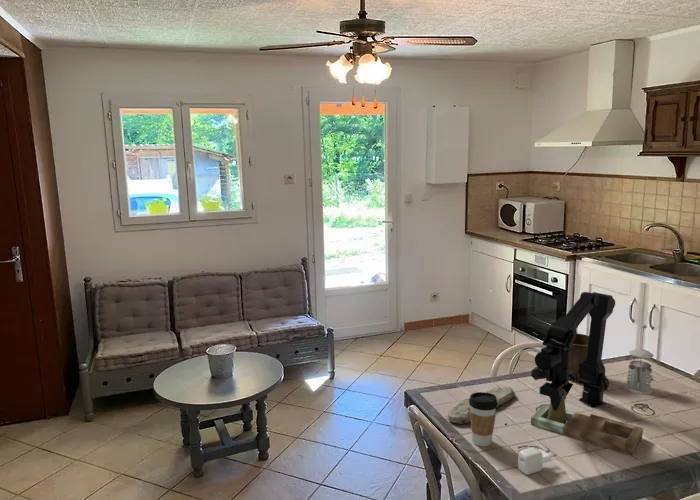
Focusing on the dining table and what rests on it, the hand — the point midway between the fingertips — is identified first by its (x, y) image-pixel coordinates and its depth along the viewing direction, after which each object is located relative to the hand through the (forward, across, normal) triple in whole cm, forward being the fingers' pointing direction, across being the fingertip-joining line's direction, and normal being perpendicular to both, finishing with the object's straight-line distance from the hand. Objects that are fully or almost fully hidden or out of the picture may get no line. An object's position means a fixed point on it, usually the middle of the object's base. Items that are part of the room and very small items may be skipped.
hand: (557, 407), depth 179 cm
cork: (+5, 0, 0) cm, 5 cm away
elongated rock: (+6, +5, -24) cm, 25 cm away
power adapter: (+6, +30, +4) cm, 31 cm away
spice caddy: (+5, 0, +9) cm, 10 cm away
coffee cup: (+6, +26, -14) cm, 30 cm away
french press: (+6, -45, +15) cm, 48 cm away
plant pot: (+6, -42, -7) cm, 43 cm away
